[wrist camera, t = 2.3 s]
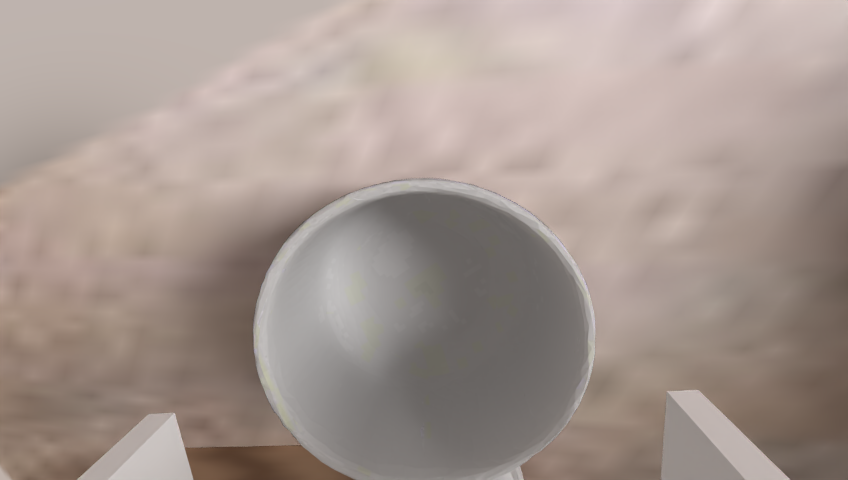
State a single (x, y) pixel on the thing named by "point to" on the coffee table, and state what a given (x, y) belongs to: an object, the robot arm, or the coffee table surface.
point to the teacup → (424, 333)
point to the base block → (258, 464)
